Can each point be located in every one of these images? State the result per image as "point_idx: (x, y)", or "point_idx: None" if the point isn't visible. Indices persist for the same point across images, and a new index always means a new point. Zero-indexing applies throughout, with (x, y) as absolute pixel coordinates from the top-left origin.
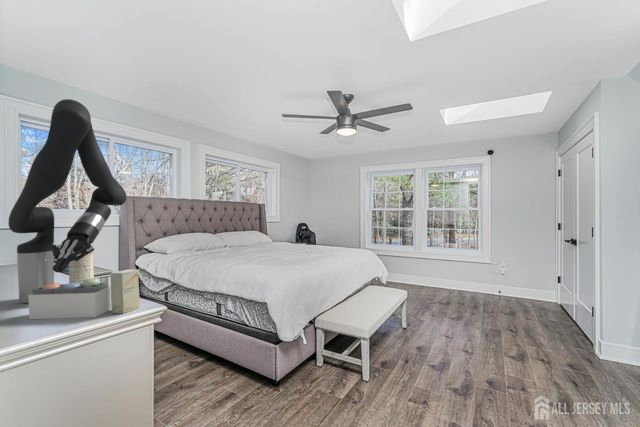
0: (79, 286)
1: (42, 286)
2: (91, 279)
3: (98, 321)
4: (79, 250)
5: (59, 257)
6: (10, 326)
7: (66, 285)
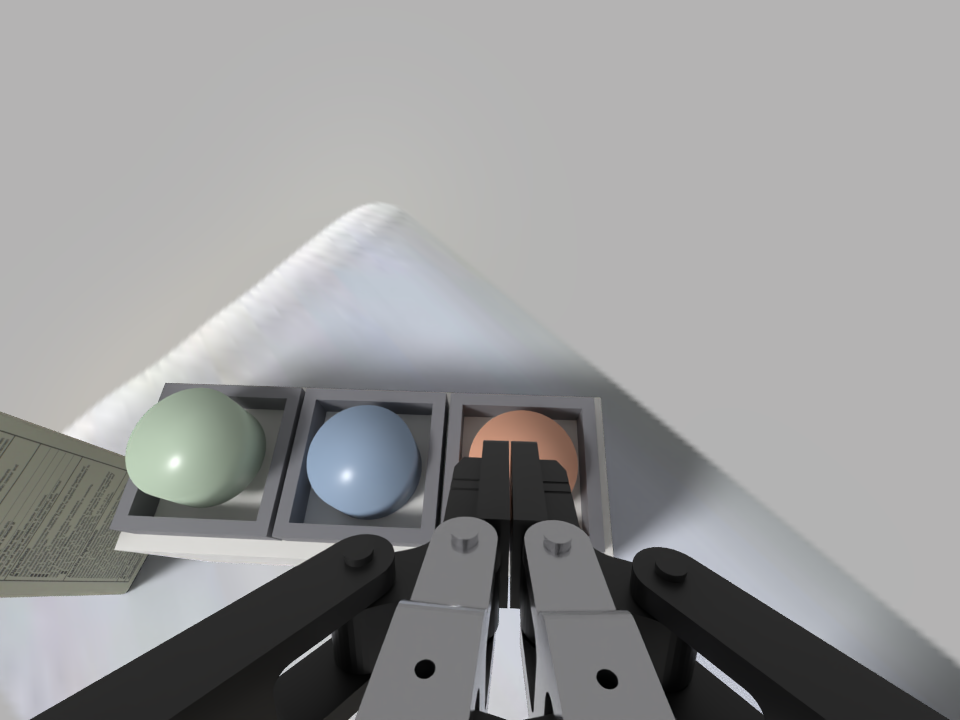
0: (293, 439)
1: (551, 419)
2: (186, 445)
3: (209, 377)
4: (231, 640)
5: (558, 529)
6: (572, 364)
7: (371, 416)
